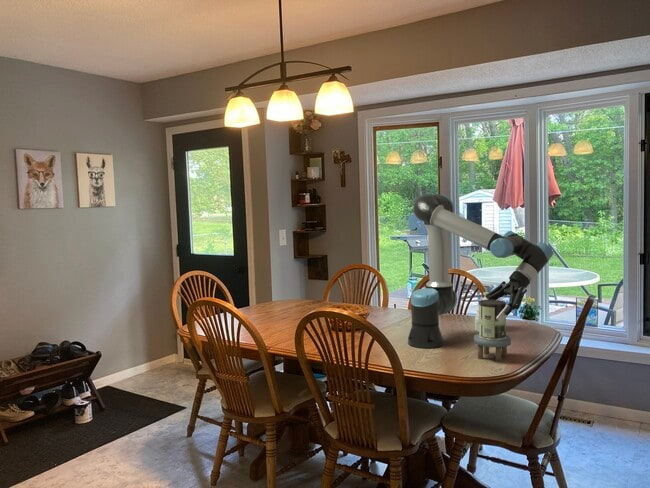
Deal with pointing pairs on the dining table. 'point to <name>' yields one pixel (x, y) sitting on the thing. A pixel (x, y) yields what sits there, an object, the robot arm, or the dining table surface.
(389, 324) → the dining table surface
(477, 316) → the white tapered piece
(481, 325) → the coffee can
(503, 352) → the stool
